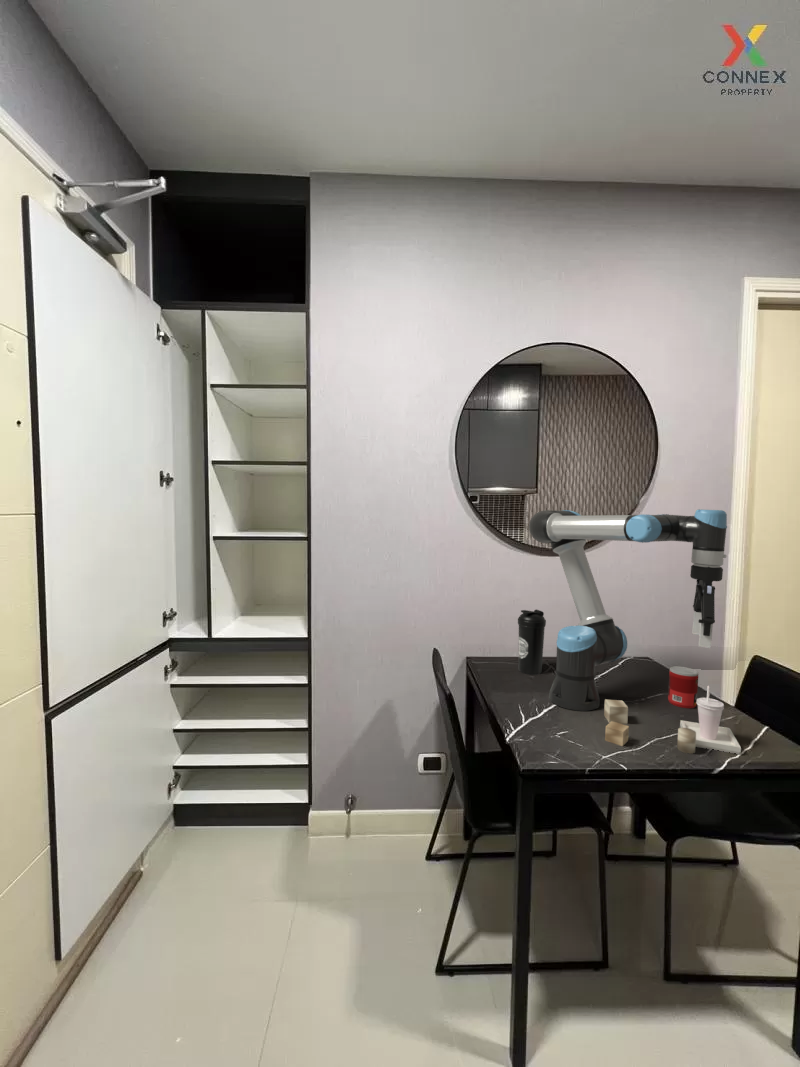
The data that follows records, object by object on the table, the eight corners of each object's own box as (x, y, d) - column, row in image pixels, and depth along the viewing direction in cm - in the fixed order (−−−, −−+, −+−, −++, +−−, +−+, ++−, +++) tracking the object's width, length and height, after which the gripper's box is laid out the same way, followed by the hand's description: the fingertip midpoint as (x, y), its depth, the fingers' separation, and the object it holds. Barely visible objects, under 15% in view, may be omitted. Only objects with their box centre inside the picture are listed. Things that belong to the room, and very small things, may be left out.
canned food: (700, 709, 152) (702, 675, 152) (672, 707, 154) (674, 672, 153) (691, 700, 160) (693, 667, 159) (664, 698, 161) (666, 665, 161)
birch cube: (609, 723, 142) (609, 706, 142) (604, 715, 147) (604, 699, 147) (627, 724, 141) (628, 707, 141) (621, 716, 146) (622, 700, 146)
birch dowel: (678, 751, 126) (679, 732, 125) (676, 744, 129) (677, 726, 129) (696, 755, 124) (697, 735, 124) (693, 748, 128) (694, 729, 128)
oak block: (604, 740, 131) (605, 726, 131) (611, 735, 134) (611, 721, 134) (622, 746, 128) (623, 731, 128) (628, 740, 131) (628, 726, 131)
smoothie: (696, 729, 137) (699, 680, 137) (723, 736, 133) (726, 686, 133) (692, 737, 133) (695, 686, 132) (720, 745, 128) (723, 692, 128)
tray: (686, 744, 129) (686, 738, 129) (679, 726, 140) (680, 720, 140) (740, 754, 125) (740, 747, 125) (729, 734, 136) (729, 728, 136)
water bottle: (511, 667, 189) (513, 608, 188) (534, 665, 192) (536, 607, 191) (525, 676, 179) (527, 614, 178) (549, 674, 182) (551, 612, 181)
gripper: (732, 572, 123) (725, 655, 125) (715, 561, 146) (709, 631, 147) (697, 569, 126) (691, 650, 128) (686, 559, 149) (680, 628, 150)
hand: (700, 640), depth 137 cm, fingers open, 13 cm apart
